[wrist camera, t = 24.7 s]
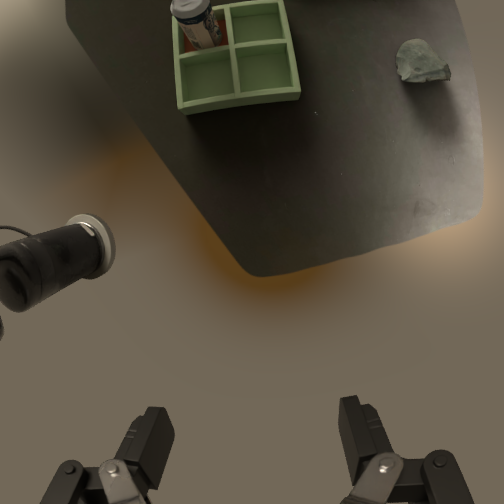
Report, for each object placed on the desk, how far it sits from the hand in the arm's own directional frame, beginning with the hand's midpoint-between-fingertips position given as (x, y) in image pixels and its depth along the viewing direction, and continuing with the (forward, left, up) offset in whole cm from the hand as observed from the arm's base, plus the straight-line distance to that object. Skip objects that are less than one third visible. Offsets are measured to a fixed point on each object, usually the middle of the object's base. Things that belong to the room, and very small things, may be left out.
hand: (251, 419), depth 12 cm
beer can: (-5, +34, -32) cm, 47 cm away
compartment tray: (-1, +30, -33) cm, 44 cm away
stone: (+28, +29, -33) cm, 52 cm away
